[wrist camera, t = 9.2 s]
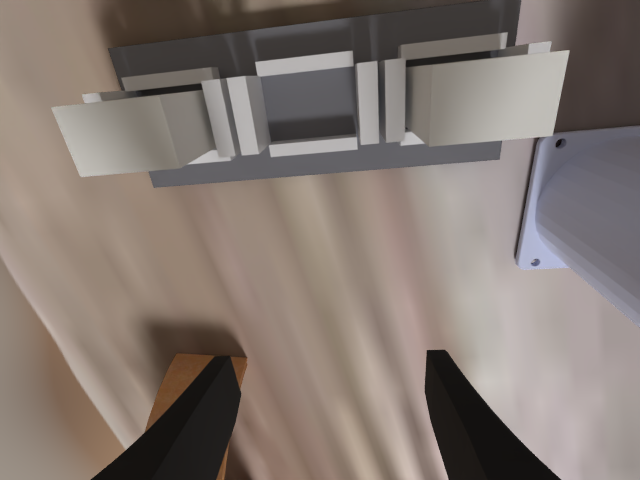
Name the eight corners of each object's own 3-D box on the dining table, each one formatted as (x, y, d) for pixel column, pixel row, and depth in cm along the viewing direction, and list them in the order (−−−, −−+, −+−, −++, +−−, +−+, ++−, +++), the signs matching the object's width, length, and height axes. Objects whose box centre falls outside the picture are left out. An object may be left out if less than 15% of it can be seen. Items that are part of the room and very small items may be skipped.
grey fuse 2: (490, 58, 15) (569, 49, 10) (484, 115, 16) (552, 136, 11) (402, 67, 16) (432, 65, 10) (401, 123, 17) (429, 146, 12)
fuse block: (515, -1, 15) (562, -22, 12) (495, 155, 18) (528, 173, 15) (116, 49, 17) (62, 44, 14) (159, 183, 20) (123, 205, 17)
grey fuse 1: (218, 88, 17) (159, 95, 11) (229, 139, 18) (180, 168, 12) (142, 96, 17) (51, 107, 12) (158, 146, 18) (80, 177, 13)
